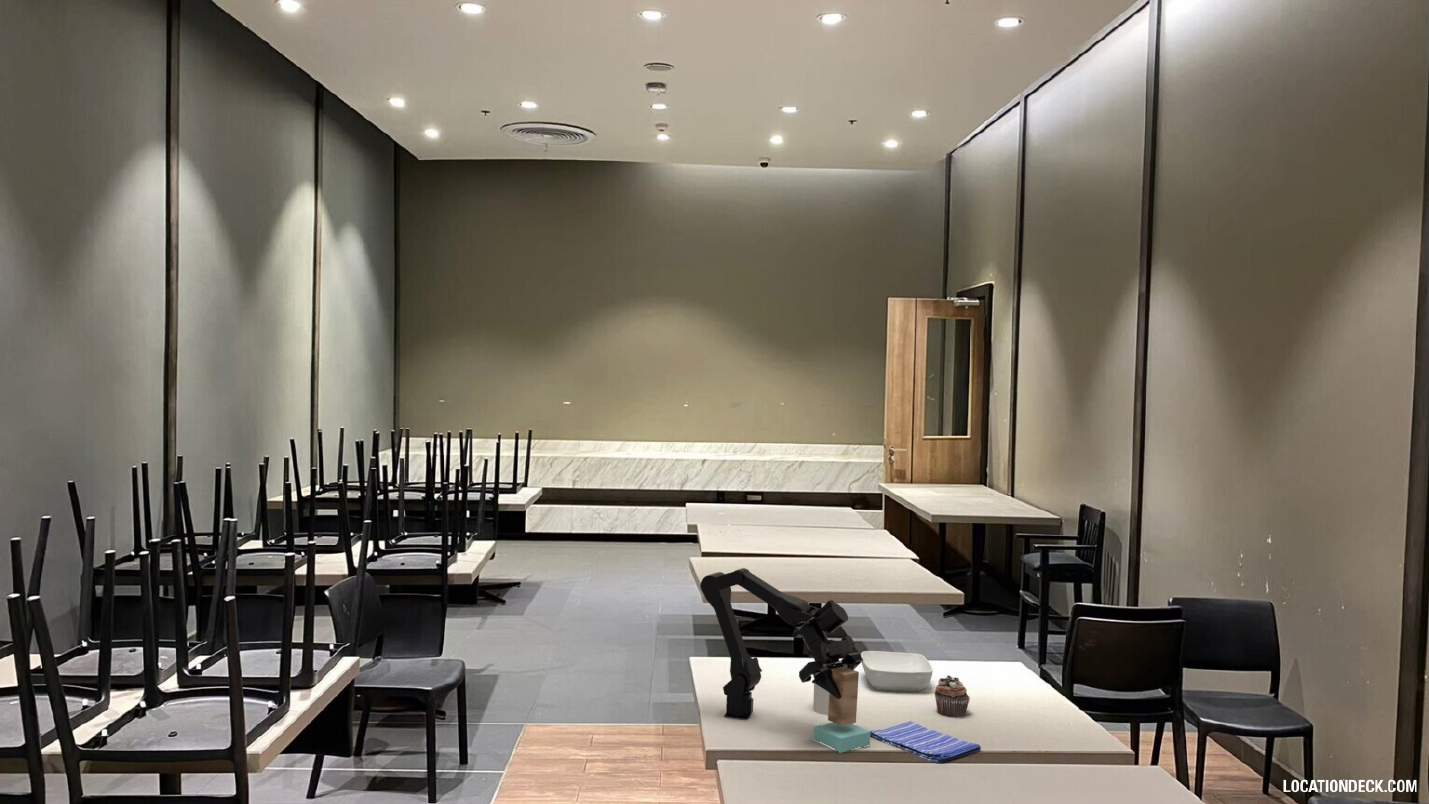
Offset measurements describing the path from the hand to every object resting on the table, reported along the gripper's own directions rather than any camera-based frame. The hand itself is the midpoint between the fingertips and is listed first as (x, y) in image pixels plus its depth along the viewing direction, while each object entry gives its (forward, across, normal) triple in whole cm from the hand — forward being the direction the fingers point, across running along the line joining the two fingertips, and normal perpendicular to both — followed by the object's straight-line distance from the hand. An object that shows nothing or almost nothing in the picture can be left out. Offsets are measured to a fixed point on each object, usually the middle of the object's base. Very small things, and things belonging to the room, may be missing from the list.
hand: (847, 696), depth 266 cm
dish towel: (+17, +18, +2) cm, 25 cm away
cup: (-7, +16, +24) cm, 30 cm away
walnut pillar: (+4, 0, +6) cm, 7 cm away
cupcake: (+8, +44, +9) cm, 46 cm away
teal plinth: (+8, 0, +10) cm, 13 cm away
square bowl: (-10, +51, +28) cm, 59 cm away
